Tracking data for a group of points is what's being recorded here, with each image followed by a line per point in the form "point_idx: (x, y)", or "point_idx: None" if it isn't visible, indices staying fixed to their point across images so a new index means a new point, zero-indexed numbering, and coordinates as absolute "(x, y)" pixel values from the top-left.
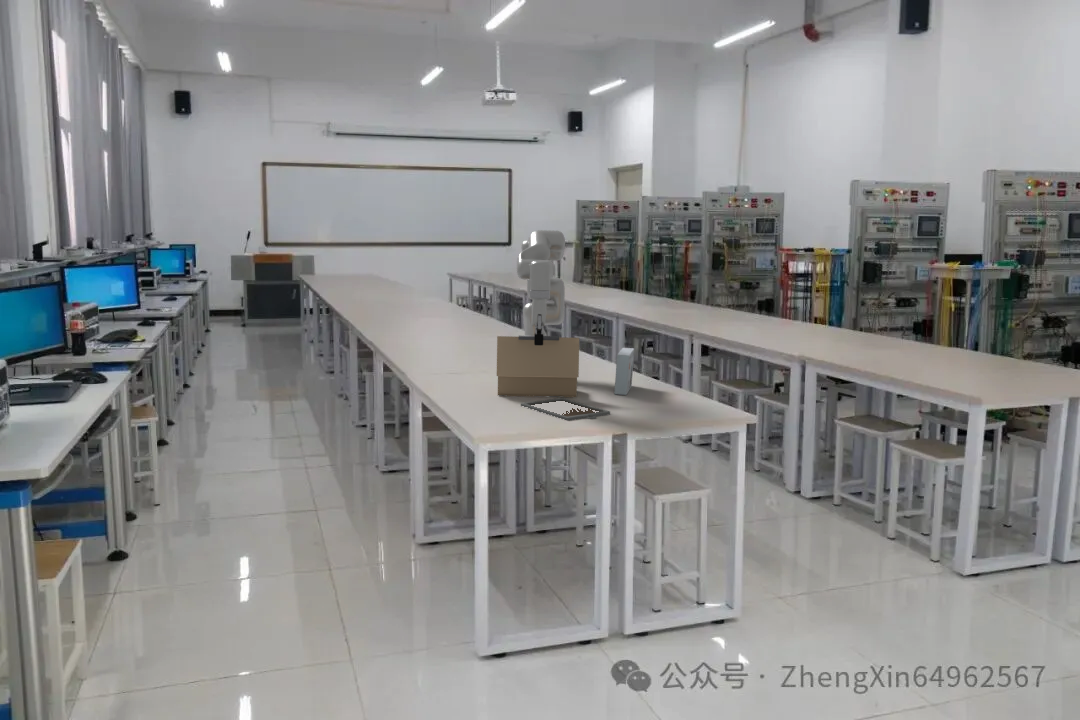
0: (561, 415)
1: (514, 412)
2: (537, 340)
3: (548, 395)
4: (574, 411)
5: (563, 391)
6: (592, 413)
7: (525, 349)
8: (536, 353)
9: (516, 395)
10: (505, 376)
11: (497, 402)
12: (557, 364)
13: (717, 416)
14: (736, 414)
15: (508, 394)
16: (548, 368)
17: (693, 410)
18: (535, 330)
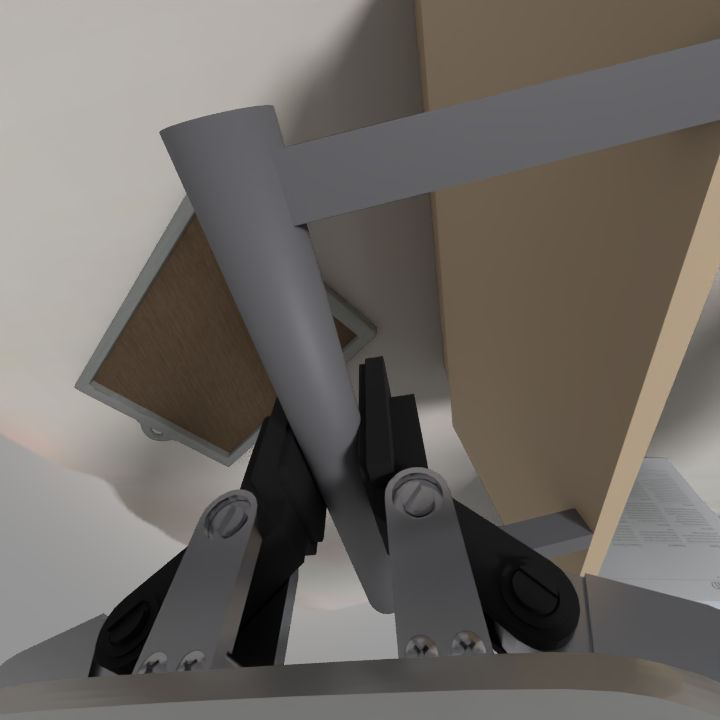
0: (88, 369)
1: (55, 180)
2: (261, 442)
3: (437, 271)
4: (211, 385)
5: (445, 336)
6: (175, 436)
7: (541, 177)
8: (510, 292)
9: (422, 96)
10: None
11: (215, 6)
12: (473, 387)
13: (307, 587)
14: (335, 602)
15: (418, 34)
16: (461, 328)
17: (346, 567)
18: (174, 575)
